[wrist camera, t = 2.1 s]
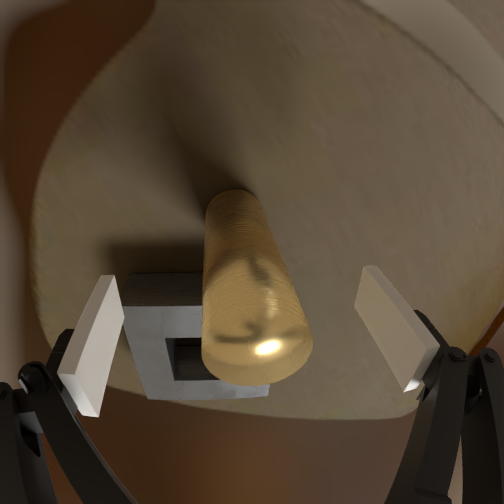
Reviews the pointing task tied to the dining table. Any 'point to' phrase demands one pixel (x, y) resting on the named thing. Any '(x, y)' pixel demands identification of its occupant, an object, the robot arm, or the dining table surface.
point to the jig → (172, 339)
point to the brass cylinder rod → (248, 297)
